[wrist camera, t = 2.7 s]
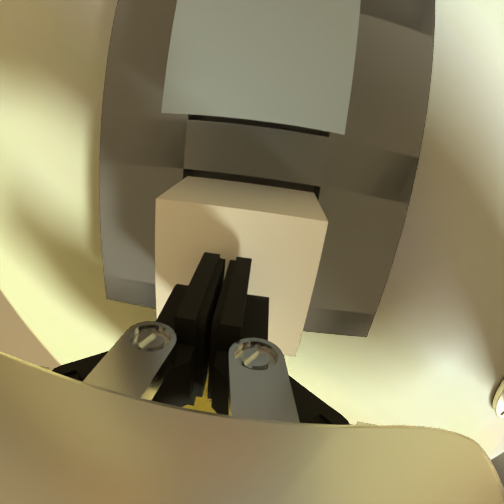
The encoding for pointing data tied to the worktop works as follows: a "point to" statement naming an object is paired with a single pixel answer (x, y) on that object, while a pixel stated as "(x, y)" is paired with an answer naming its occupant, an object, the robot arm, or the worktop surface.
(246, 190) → the white key
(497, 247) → the worktop surface
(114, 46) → the keypad base
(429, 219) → the worktop surface
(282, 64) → the grey-blue square block
